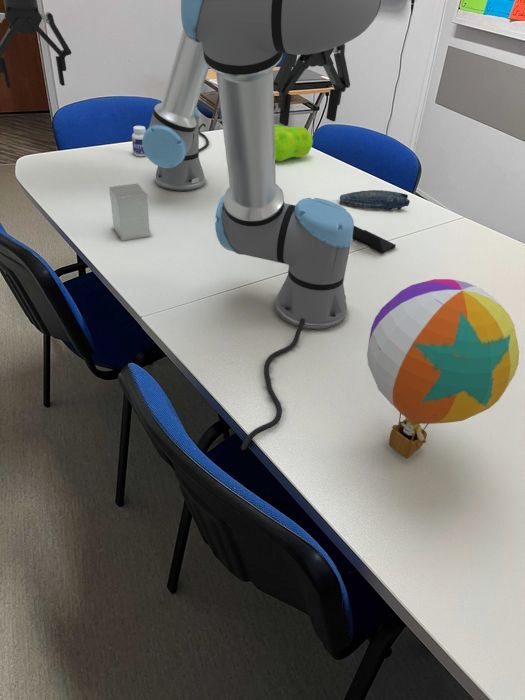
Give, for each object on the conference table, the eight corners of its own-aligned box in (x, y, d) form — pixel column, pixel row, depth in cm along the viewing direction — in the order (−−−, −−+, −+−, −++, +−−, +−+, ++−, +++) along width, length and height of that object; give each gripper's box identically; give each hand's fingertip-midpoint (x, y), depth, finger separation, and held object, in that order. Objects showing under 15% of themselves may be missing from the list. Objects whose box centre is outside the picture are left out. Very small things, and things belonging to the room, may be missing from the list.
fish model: (408, 214, 157) (412, 198, 153) (339, 207, 158) (341, 191, 154) (406, 206, 162) (410, 190, 159) (339, 199, 163) (341, 183, 160)
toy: (318, 439, 84) (351, 278, 65) (393, 389, 94) (440, 239, 76) (417, 524, 73) (492, 360, 54) (489, 457, 83) (573, 301, 65)
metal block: (149, 236, 134) (147, 194, 127) (122, 240, 131) (117, 198, 124) (140, 224, 139) (137, 183, 132) (113, 228, 136) (109, 186, 129)
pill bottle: (130, 154, 179) (128, 127, 174) (138, 150, 183) (136, 124, 178) (143, 157, 178) (142, 130, 173) (151, 153, 182) (150, 126, 176)
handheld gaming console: (400, 239, 139) (392, 217, 131) (388, 262, 138) (379, 241, 130) (362, 231, 145) (352, 209, 137) (350, 252, 144) (340, 232, 136)
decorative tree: (227, 120, 186) (308, 120, 191) (227, 150, 193) (305, 149, 198) (234, 135, 173) (321, 134, 178) (234, 166, 179) (317, 165, 184)
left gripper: (68, -12, 132) (80, 80, 145) (-42, -16, 122) (-18, 83, 135) (75, -8, 127) (87, 86, 140) (-39, -12, 117) (-14, 90, 130)
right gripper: (355, 14, 118) (339, 113, 131) (261, 13, 107) (254, 121, 120) (376, 19, 113) (358, 122, 126) (280, 18, 102) (271, 130, 115)
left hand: (35, 85), depth 138 cm, fingers open, 13 cm apart
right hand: (307, 122), depth 123 cm, fingers open, 13 cm apart
